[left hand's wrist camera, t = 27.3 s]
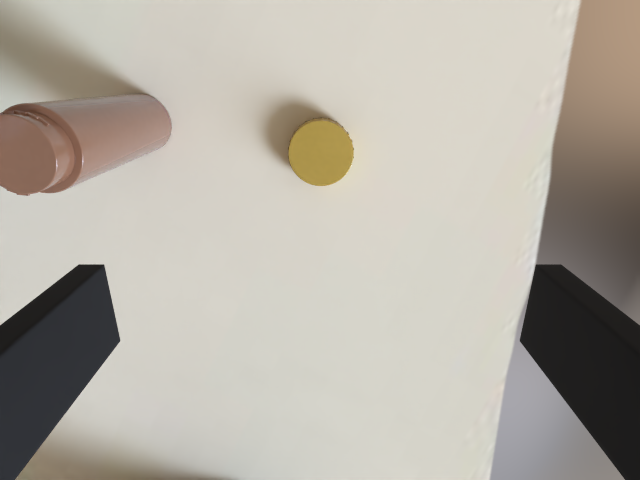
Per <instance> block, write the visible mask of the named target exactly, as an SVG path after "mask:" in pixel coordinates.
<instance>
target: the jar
mask: <svg viewBox="0 0 640 480" xmlns="http://www.w3.org/2000/svg"><path fill="white" fill-rule="evenodd" d="M170 134H171V120H170V116H169V114H168V112H167V110H166V109H165V107H164V106H163V105H162V104H161V103H160V102H159V101H158V100H157V99H155V98H153V97H151V96H149V95H146V94H127V95H116V96H104V97H93V98H81V99H69V100H58V101H46V102H35V103H23V104H17V105H14V106H11V107H9V108H8V109H6V110H5V111H3V112H2V113H0V186H2V187H4V188H5V189H7V190H8V191H11V192H14V193H17V195H26V196H29V195H30V194H34V193H38V192H42V193H56V192H61V191H64V190H66V189H68V188H71V187H73V186H75V185H77V184H80V183H82V182H84V181H86V180H89V179H91V178H93V177H96V176H98V175H100V174H102V173H105V172H107V171H109V170H112V169H114V168H116V167H118V166H121V165H123V164H125V163H127V162H130V161H132V160H134V159H137V158H139V157H141V156H143V155H146V154H148V153H150V152H152V151H155V150H157V149H159V148H161V147H162V146H163V145H164V144H165V143H166V142H167V141H168V139H169V137H170Z"/></svg>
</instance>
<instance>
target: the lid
mask: <svg viewBox="0 0 640 480" xmlns="http://www.w3.org/2000/svg"><path fill="white" fill-rule="evenodd" d="M288 150H289V153H288V154H289V156H288V158H289V161H290V165H291V167H292V169H293V171H294V172H295V174H296V175H297V176H298V177H299V178H300V179H302V180H303V181H305V182H307V183H309V184H312V185H316V186H326V185H330V184H333V183H335V182H337V181H339V180H340V179H341V178H343V177H344V176H345V175H346V173H347V172H348V171H349V169H350V167H351V165H352V161H353V158H354V157H353V150H354V148H353V145H352V140H351V139H350V137H349V134H348V132H346V131H345V129H344V128H343V126H341V125H339V124H338V123H337V122H334V121H332V120H330V119H329V118H328V119H323V118H319V119H314V118H313V120H310V121H308V122H307V121H306V122H305V123H304V124H303V125H301V126H299V128H298V129H297V130H296V132H294V134H293V137H292V139H291V140H290V145H289V148H288Z"/></svg>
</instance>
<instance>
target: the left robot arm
mask: <svg viewBox="0 0 640 480" xmlns="http://www.w3.org/2000/svg"><path fill="white" fill-rule="evenodd" d="M119 342H120V337H119V332H118V328H117V323H116V318H115V314H114V309H113V304H112V299H111V295H110V290H109V285H108V281H107V276H106V271H105V267H104V265H78V266H76V267H75V268H74V269H73V270H71V271H70V272H69V273H67V274H66V275H65V276H64V277H62V278H61V279H60V280H58V281H57V282H56V283H55V284H53V285H52V286H51V287H49V288H48V289H47V290H45V291H44V292H43V293H42V294H40V295H39V296H38V297H36V298H35V299H34V300H33V301H31V302H30V303H29V304H27V305H26V306H25V307H24V308H22V309H21V310H20V311H18V312H17V313H16V314H14V315H13V316H12V317H11V318H9V319H8V320H7V321H5V322H4V323H3V324H2V325H0V480H15V479H16V477H17V476H18V475H19V474H20V472H21V471H22V470H23V468H24V467H25V466H26V464H27V463H28V462H29V460H30V459H31V458H32V456H33V455H34V454H35V452H36V451H37V450H38V448H39V447H40V446H41V445H42V443H43V442H44V441H45V439H46V438H47V437H48V435H49V434H50V433H51V431H52V430H53V429H54V427H55V426H56V425H57V423H58V422H59V421H60V420H61V418H62V417H63V416H64V414H65V413H66V412H67V410H68V409H69V408H70V406H71V405H72V404H73V402H74V401H75V400H76V398H77V397H78V396H79V395H80V393H81V392H82V391H83V389H84V388H85V387H86V385H87V384H88V383H89V381H90V380H91V379H92V377H93V376H94V375H95V373H96V372H97V371H98V370H99V368H100V367H101V366H102V364H103V363H104V362H105V360H106V359H107V358H108V356H109V355H110V354H111V352H112V351H113V350H114V348H115V347H116V346H117V344H118V343H119ZM520 342H521V343H522V344H523V346H524V347H525V348H526V350H527V351H528V352H529V354H530V355H531V356H532V358H533V359H534V360H535V362H536V363H537V364H538V366H539V367H540V368H541V370H542V371H543V372H544V373H545V375H546V376H547V377H548V379H549V380H550V381H551V383H552V384H553V385H554V387H555V388H556V389H557V391H558V392H559V393H560V394H561V396H562V397H563V398H564V400H565V401H566V402H567V404H568V405H569V406H570V408H571V409H572V410H573V412H574V413H575V414H576V416H577V417H578V418H579V420H580V421H581V422H582V423H583V425H584V426H585V427H586V429H587V430H588V431H589V433H590V434H591V435H592V437H593V438H594V439H595V441H596V442H597V443H598V445H599V446H600V447H601V448H602V450H603V451H604V452H605V454H606V455H607V456H608V458H609V459H610V460H611V462H612V463H613V464H614V466H615V467H616V468H617V470H618V471H619V472H620V473H621V475H622V476H623V477H624V479H625V480H640V325H638V324H637V323H636V322H635V321H633V320H632V319H631V318H629V317H628V316H627V315H626V314H624V313H623V312H622V311H620V310H619V309H618V308H616V307H615V306H614V305H613V304H611V303H610V302H609V301H607V300H606V299H605V298H604V297H602V296H601V295H600V294H598V293H597V292H596V291H595V290H593V289H592V288H591V287H589V286H588V285H587V284H585V283H584V282H583V281H582V280H580V279H579V278H578V277H576V276H575V275H574V274H573V273H571V272H570V271H569V270H567V269H566V268H565V267H564V266H562V265H536V267H535V271H534V276H533V281H532V285H531V290H530V295H529V299H528V304H527V309H526V314H525V318H524V323H523V328H522V332H521V337H520Z"/></svg>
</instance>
